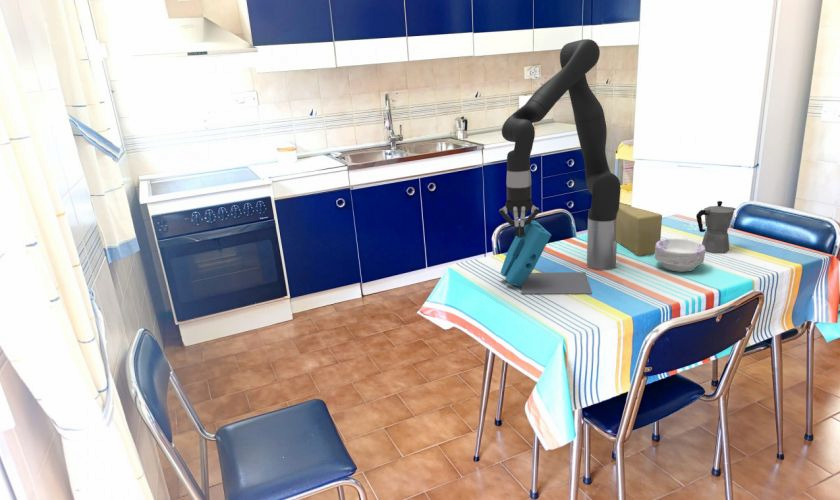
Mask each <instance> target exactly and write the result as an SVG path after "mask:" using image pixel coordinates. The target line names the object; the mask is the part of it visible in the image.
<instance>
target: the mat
mask: <svg viewBox="0 0 840 500" xmlns="http://www.w3.org/2000/svg"><path fill="white" fill-rule="evenodd" d="M520 290H521V291H520V294H521V295H593V291H592V289H591V286H590V283H589V280H588V276H587V273H586V272H583V271H581V272H580V271H577V272H576V271H575V272H570V271H569V272H568V271H567V272H531V274H530V275H529V276H528V278H527V279H526V280H525V282H524V283H523V284H522V286H521V287H520Z"/></svg>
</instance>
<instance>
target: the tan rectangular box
mask: <svg viewBox="0 0 840 500" xmlns="http://www.w3.org/2000/svg"><path fill="white" fill-rule="evenodd" d="M662 222H663V214H662V213H661V214H660V213H657V212H653V211H650V210H646V209H642V208H637V207H634V206H630V205H627V204H624V203H621V202H620V203H619V210H618V212H617V218H616V241H617V243H618V244H619V245H621V246H623V248H626V249H628V250H629V251H631V252H632V253H633V254H634V255H636V256H638V257H643V256H650V255H655V245H656V243H657V242H658V241H660V240H662V239H661V236H662V235H661V234H662Z"/></svg>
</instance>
